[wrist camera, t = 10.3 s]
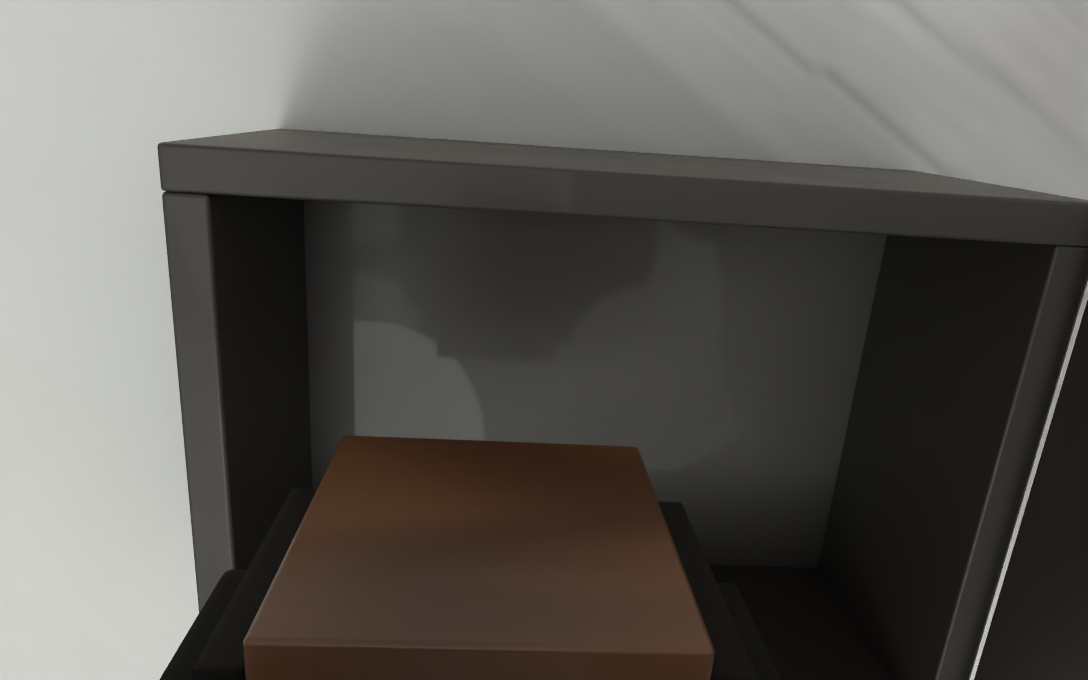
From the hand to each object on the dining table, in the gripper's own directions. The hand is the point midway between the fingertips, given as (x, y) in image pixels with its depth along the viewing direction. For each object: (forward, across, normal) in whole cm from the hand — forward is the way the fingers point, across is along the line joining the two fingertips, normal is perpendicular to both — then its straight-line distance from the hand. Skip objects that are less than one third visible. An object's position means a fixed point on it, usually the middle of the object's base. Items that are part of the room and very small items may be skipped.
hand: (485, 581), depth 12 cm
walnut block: (0, 0, 0) cm, 0 cm away
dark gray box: (+10, -3, 0) cm, 10 cm away
